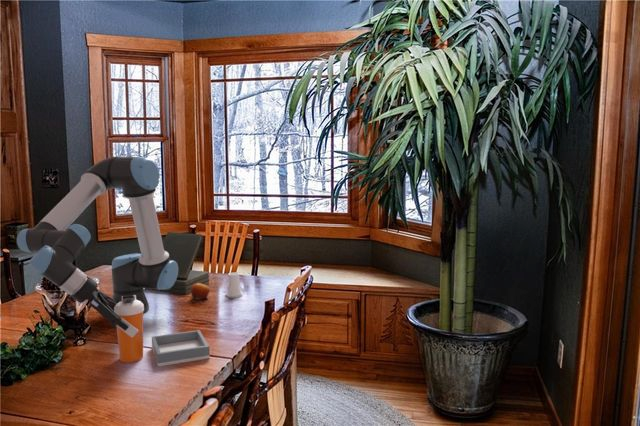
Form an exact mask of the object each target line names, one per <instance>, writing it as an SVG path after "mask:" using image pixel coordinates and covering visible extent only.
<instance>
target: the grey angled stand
mask: <svg viewBox="0 0 640 426" xmlns="http://www.w3.org/2000/svg"><path fill="white" fill-rule="evenodd" d="M203 240H204V236H202V234H201V233H200V234H199V233H185V232H175V231H174V232H172V231H167V232H166V235H165V238H164V240H163V241H162V243H163V247H164V250H165V251H167V252H168V253H169V256H170V260H173V261H175V262H177V264H178V276H177V279H176V281H175V283H174V285H173V286H172V287H171V288H169V289H166V290H165V289H161V290H158V289H151V288H144V290H146V289H148V290H147V291H154V292H155V291H156V292H164V293H171V294H178V295H187V294H190V293H191V289H192V286H193V285H194V284H197V283H200V284H204V285H207V286H208V285H209V284H210V281H211V280H210V278H209V277H210V271H204V270H203V271H202V270H194V269H192V267H193V265H194V263H195V260H196V257H197V254H198V252H199V249H200V247H201V244H202V241H203Z"/></svg>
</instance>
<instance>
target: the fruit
mask: <svg viewBox="0 0 640 426" xmlns="http://www.w3.org/2000/svg"><path fill="white" fill-rule="evenodd" d="M210 291H211V289H210V287H209V286H208V284H207V285H204V284H200V283H197V284H194V285H193V286H192V289H191V292H190V293H191V297H192V300H194V299H196V300H198V302H200V300H205V299H206V298H207V297H208V295H209V293H210Z"/></svg>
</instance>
